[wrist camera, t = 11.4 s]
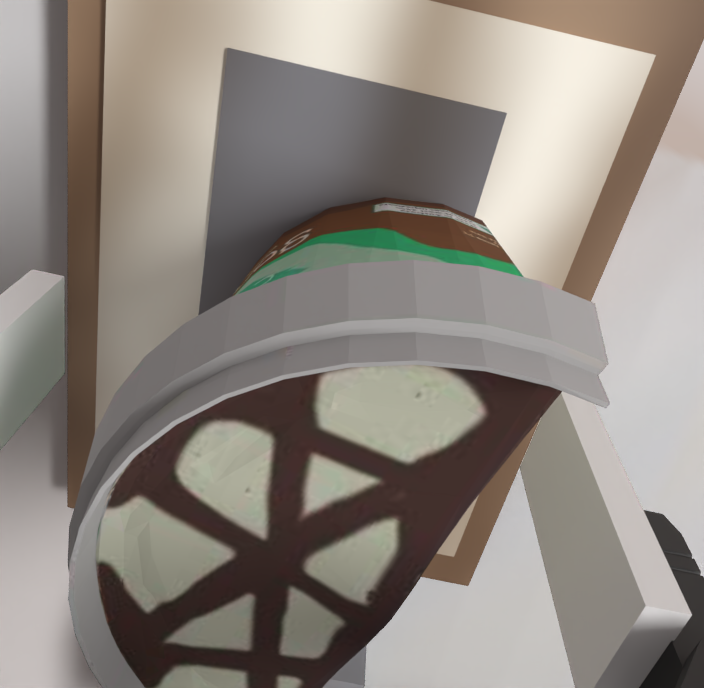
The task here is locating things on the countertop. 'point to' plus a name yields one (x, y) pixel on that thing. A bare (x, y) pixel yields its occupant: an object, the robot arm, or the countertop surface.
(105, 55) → the drawing board
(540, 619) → the countertop surface
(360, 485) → the food container
